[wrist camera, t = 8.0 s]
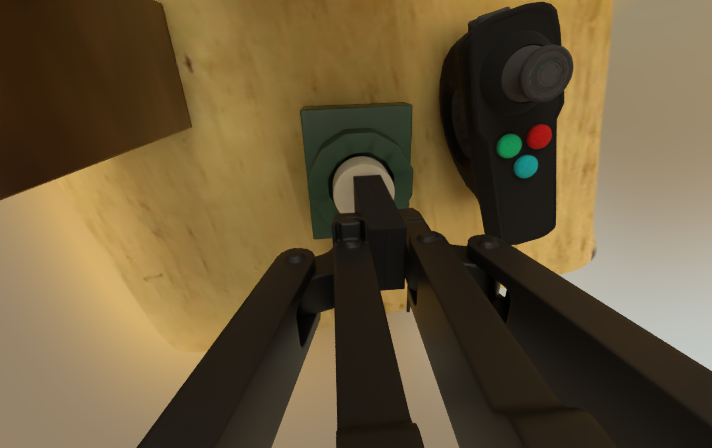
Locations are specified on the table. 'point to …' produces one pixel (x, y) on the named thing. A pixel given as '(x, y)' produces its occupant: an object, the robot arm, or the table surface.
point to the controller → (508, 116)
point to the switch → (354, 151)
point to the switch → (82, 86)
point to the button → (344, 180)
